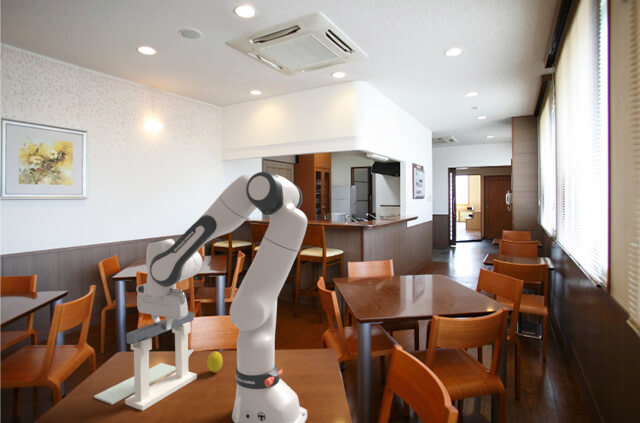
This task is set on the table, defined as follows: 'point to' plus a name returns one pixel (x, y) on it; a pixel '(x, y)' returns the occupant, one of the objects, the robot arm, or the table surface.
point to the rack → (168, 385)
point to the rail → (155, 329)
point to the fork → (190, 352)
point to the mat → (133, 384)
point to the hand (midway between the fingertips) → (162, 328)
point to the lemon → (214, 361)
